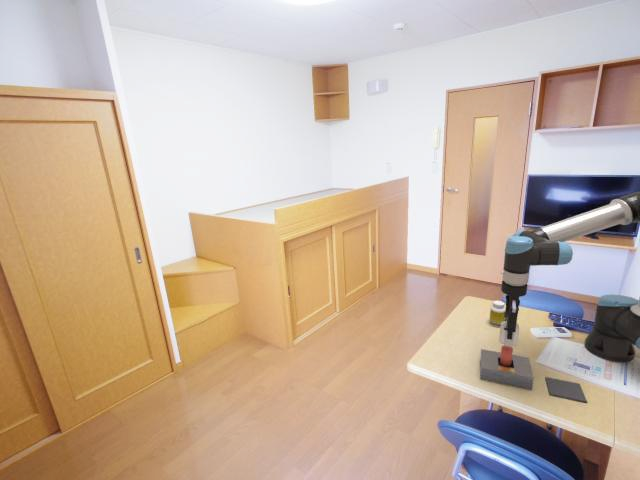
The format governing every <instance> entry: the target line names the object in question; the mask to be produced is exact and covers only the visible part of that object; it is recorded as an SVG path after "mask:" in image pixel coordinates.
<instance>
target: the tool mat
mask: <svg viewBox="0 0 640 480" xmlns="http://www.w3.org/2000/svg"><path fill="white" fill-rule="evenodd" d="M544 380H545V382H546V383H545V384H546V387H547V390H548V394H549V396H551V397H557V398H560V399H564V400H570V401H575V402H580V403H585V404H587V403H588V401H587V398H586V395H585V393H584V391H583V388H582V387H581V384H580V383H578V382H573V381H569V380H563V379H559V378H555V377H554V378H553V377H548V376H545V377H544Z"/></svg>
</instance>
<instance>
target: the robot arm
mask: <svg viewBox="0 0 640 480" xmlns="http://www.w3.org/2000/svg"><path fill="white" fill-rule="evenodd" d="M633 223H634V224H635V223H640V191H637V192H636V191H635V192H633V193H630V194H627V195H622V196H620V197H617V198H615V199H612V200H611V201H610V203H608V204H606V205H602V206H600V207H597V208H594V209H591V210H589V211H586V212H582V213H580V214H576V215H573V216H571V217H567V218H565V219H563V220H559V221H557V222H553V223H551V224H547V225H545V226H542V227H538V228H535V229H533V230H528V229H520V230H518V231H516V232H515V233H514V234H513V236H510V237H507V240H506V243H505V247H504V258H503V259H504V261H503V270H502V271H500V274H501V275H502V280H501V288H500V291H501V293H503V294H504V295H505V309H506V310H505V321H507V326H506V328H504V330H505V337H504V344H503V345H504V346H509V347H512V348H514V346H513V340H514V332H516V323H517V322H518V314H519V311H520V307H519V306H520V304H521V300H520V297H525V296H526V295H527V291H528V284H529V280H530V279H529V278H530V270H531V269H530V268H531V267H534V266H563V265H568V264H570V263H571V261H572V260H573V255H574V252H573V247H572V246H571V245H570V244H569V243H568V242H569V241H571V240H575V239H577V238H581V237H583V236H586V235H589V234H593V233H597V232H599V231H602V230H605V229H608V228H611V227H614V226H617V225H623V226H626V225H627V226H628V225H631V224H633ZM517 324H518V323H517ZM583 346H584V347H585V348H586V350H587V351H588V352H590V353H591V354H593V355H595V356H597V357H599V358H601V359H604V360H607V361H611V362H616V363H630V362H633V361H634V360H635V358H636V349H635V347H636V348H637V350H638V349H639V350H640V296H639V298H638V299H637V298H634V297H631V296H627V295H620V294H604V295H601V296H599V298H598V302H597V303H596V310H595V317H594V321H593V326H592V329H591V331H589V334H588V335H587V336H586V337H585V339H584V344H583Z"/></svg>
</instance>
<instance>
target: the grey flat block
mask: <svg viewBox="0 0 640 480" xmlns="http://www.w3.org/2000/svg"><path fill="white" fill-rule="evenodd" d="M500 357H501V351H494V350H489V349H484V348H481V349H480V360H479V362H480V364H479V365H480V366H479V367H480V369H479V372H480V375H479V377H480V380H482V381H486V382H491V383H495V384H500V385H505V386H509V387H515V388H519V389H524V390H527V391H533V386H534V385H533V384H534V378H535V377H534V373H533V369H532V364H531V359H530V357H527V356H523V355H522V356H521V355H516V354H512V363H511V366H510V367H505V366H502V365H501V364H500Z"/></svg>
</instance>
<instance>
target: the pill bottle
mask: <svg viewBox="0 0 640 480" xmlns="http://www.w3.org/2000/svg"><path fill="white" fill-rule="evenodd" d="M505 310H506V307H505V302H503V301H501V300H493V301H492V305H491V307H490V309H489V321H488V322H489V324H490V326H493V327H495V328H500V327H501V322H503V321H505Z"/></svg>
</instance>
